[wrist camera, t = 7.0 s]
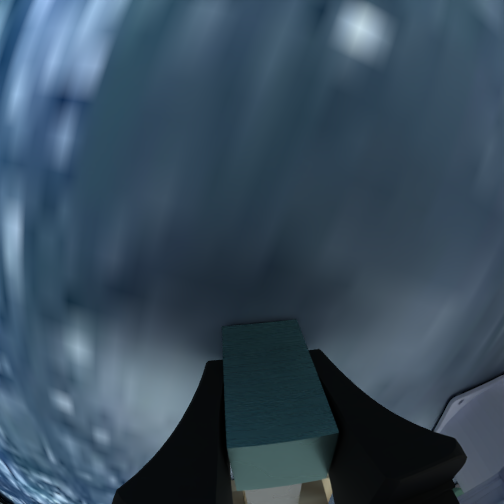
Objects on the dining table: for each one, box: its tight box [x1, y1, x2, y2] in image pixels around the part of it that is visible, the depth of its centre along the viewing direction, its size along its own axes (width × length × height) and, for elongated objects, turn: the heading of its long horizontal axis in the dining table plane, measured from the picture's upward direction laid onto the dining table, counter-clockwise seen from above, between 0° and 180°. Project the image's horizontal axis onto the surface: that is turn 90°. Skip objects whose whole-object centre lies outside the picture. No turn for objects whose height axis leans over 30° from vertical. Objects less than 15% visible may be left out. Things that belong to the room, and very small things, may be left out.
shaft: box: [222, 319, 339, 504], centre depth 14 cm, size 3×24×6 cm, turn 3°
